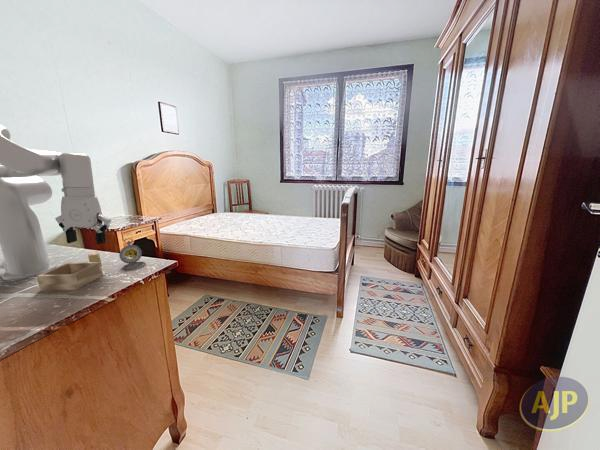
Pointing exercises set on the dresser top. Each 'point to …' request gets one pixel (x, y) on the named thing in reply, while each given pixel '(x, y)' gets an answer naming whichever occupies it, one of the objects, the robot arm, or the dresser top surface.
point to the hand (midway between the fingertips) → (86, 242)
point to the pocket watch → (131, 255)
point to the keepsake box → (70, 276)
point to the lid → (94, 257)
